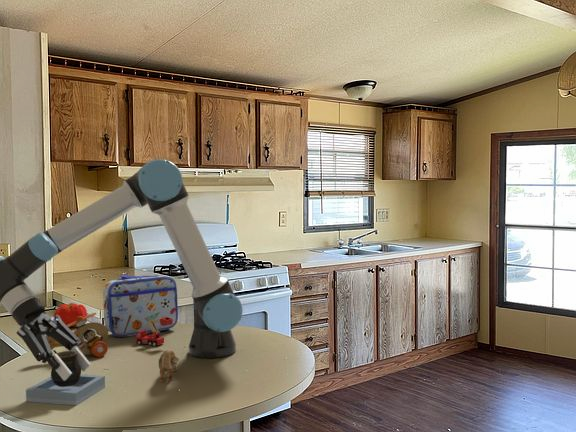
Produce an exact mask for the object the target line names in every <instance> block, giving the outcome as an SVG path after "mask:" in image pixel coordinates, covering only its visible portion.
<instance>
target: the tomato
mask: <svg viewBox="0 0 576 432" xmlns="http://www.w3.org/2000/svg"><path fill="white" fill-rule="evenodd" d="M56 315H59V316H60V318H61V320H62V321H63V323H64V324H65V325H68V324H70V323H72V322H75V321H76V318H77V317H78V316H82V317H85V316H87V315H88V310H87V309H86V306H84V305H83V304H77V303H74V302H70V303H64V304H61V305H60V306H59V307H57V309H56V310H55V312H54V314H53V317H55V316H56ZM71 327H73V328H75V327H76V328H78V327H77V326H76V324H74V325H72V326H71Z"/></svg>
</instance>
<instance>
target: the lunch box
mask: <svg viewBox="0 0 576 432" xmlns="http://www.w3.org/2000/svg"><path fill="white" fill-rule="evenodd" d="M120 277H121V278H117V279H112V280H109V281H108V282H106V283H105V284H104V286H103V289H102V290H103V291H102V292H103V297H102V299H103V302H102V303H103V320H104V325H105V326H106V328H107V330H108V332H111V334H112V335H113V336H114V337H117V338H119V337H120V338H126V337H132V336H133V337H134V336H136V333H137V332H138V331H140V330H144V329H145V330H146V335H147V334H148V335H149V334H153V332H152V331H151V329H150V328H149V326H148V325H147V323H148V322H149V321H151V320H155V319H160V318H164V317H169V318H172V319H173V324H171V325H168V326H161V324H160V322H158V323H154V324H155V326H156V328H157V330H158V331H159V332H161V331H166V330H169V329H172V328H173V327H175V326H176V324H177V323H178V319H179V309H178V307H179V306H178V303H179V302H178V286H177V283H176V281H175V279H174V278H172V277H170V276H163V275H157V274H156V275H140V276H138V275H137V276H131V275H126V274H120Z"/></svg>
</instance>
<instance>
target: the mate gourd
mask: <svg viewBox="0 0 576 432" xmlns="http://www.w3.org/2000/svg"><path fill="white" fill-rule="evenodd" d="M52 352H53V354H57V355H58V356H59V357H60V359H61V360H62V361H63V362H64V364H65V365H66V366H67V367H68V369H69V370H70V371H71V372H72V374H71V375H70V376H69V377H68V378H67V379H66V380H65V381H64V380H63V379H62V378H61V377H60V375H59V374H58V373H57V372H56V370H54V369H53V368H52V367H51V372H50V377H51V378H52V380H53V382H54V383H55V384H56V385H57V386H59V387H67V386H72V385H75V384H76V383H77V382H78V380H79V379H80V375H82V370H81V368H80V365H79V363H78V361H77V352H75V351H69V350H65V351H59V352H57V351H56V350H54V349H52Z"/></svg>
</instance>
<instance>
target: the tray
mask: <svg viewBox="0 0 576 432" xmlns="http://www.w3.org/2000/svg"><path fill="white" fill-rule="evenodd" d="M105 388H106V377H105V375H96V374H95V375H93V374H81V375H80V379H79V380H78V382H77V383H76V384H75V385H72V386H67V387H59V386H57V385H56V384H55V383H54V382H53V380H52V378H51V376H50V377H48V378H46V379H44V380H42V381H40V382H38V383H36V384H34V385H32V386H30V387H29V388H26V389H25V400H26V402H29V403H40V404H41V403H42V404H54V405H70V406H78V405H79V404H81V403H82V402H84V401H86V400H88V398H89V399H90V398H91V397H92V396H94V395H95V394H97V393H98V392H100V390H103V389H105Z"/></svg>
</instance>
